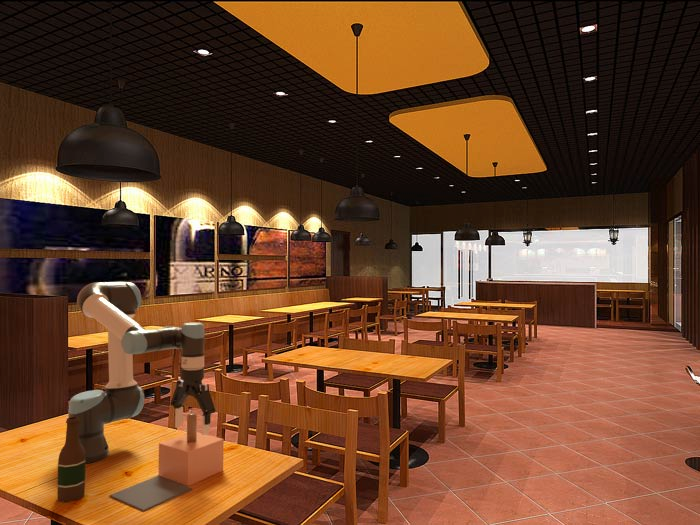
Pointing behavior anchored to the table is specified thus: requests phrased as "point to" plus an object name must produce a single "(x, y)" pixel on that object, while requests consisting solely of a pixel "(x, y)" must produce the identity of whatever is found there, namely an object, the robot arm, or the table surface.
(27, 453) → the table surface
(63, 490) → the beer bottle
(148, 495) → the mat
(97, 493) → the table surface
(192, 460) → the pink box with peg
